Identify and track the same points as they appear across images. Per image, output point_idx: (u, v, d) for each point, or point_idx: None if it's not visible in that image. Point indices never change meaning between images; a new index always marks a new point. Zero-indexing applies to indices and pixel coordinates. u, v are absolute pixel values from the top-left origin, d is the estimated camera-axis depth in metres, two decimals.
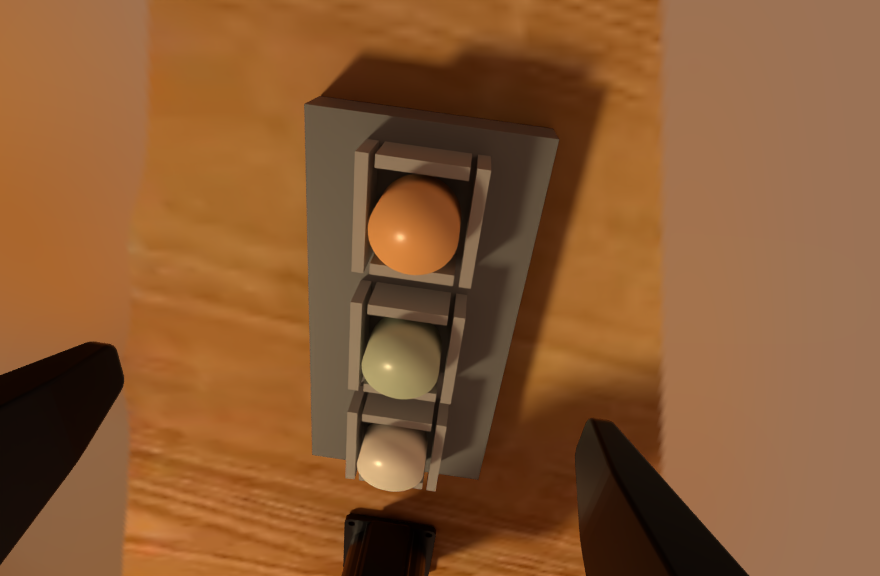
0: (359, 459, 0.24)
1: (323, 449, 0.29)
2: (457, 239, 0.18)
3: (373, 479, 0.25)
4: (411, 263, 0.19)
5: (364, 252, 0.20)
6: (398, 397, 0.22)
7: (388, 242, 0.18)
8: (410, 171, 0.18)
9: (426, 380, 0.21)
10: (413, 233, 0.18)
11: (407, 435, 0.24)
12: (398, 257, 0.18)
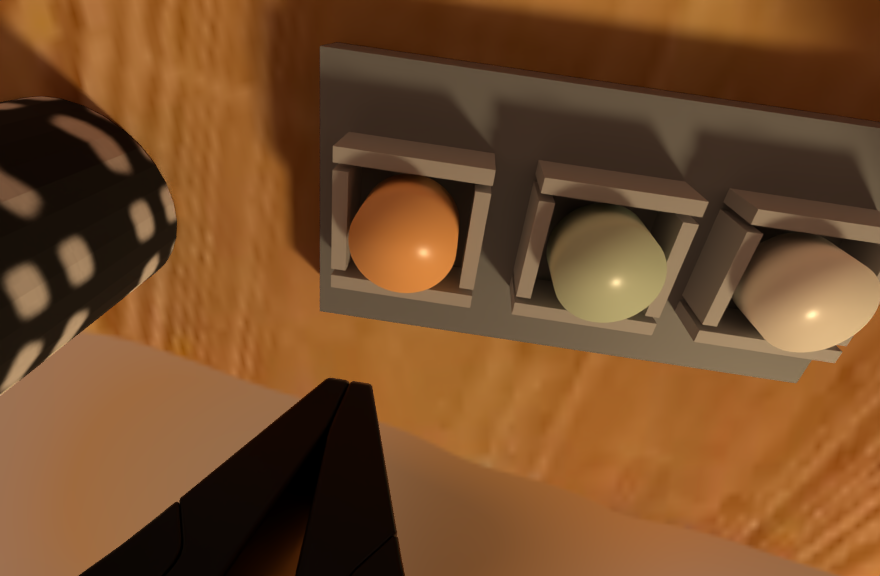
0: (780, 347, 0.16)
1: (789, 368, 0.20)
2: (405, 195, 0.14)
3: (833, 334, 0.15)
4: (440, 250, 0.15)
5: (446, 290, 0.17)
6: (661, 283, 0.15)
7: (414, 273, 0.16)
8: (345, 235, 0.16)
9: (634, 243, 0.14)
10: (400, 245, 0.15)
11: (761, 269, 0.15)
12: (433, 264, 0.15)
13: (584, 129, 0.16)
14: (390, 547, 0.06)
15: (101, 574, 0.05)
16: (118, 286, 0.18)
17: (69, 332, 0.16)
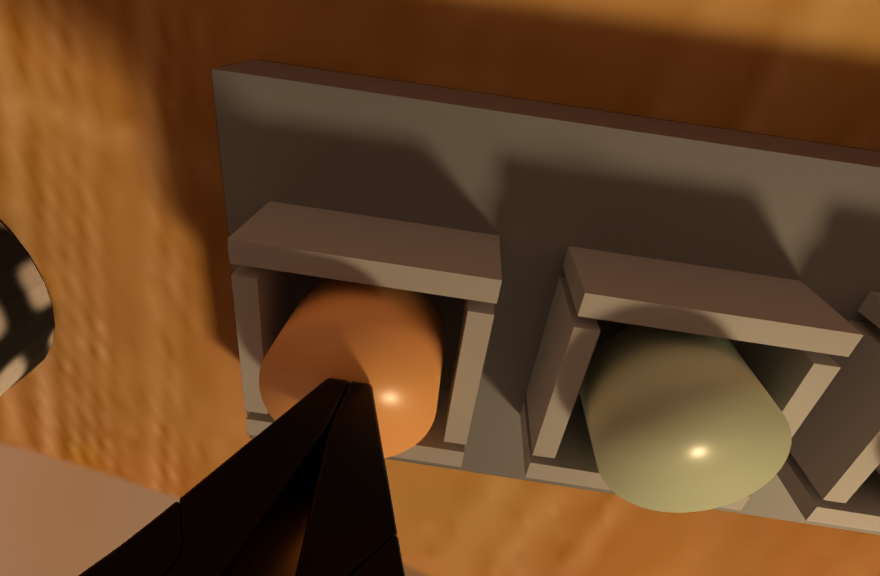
0: None
1: None
2: (346, 325, 0.08)
3: None
4: (410, 406, 0.09)
5: (424, 443, 0.11)
6: (777, 465, 0.09)
7: None
8: None
9: (738, 409, 0.08)
10: None
11: None
12: (399, 424, 0.09)
13: (644, 202, 0.10)
14: (390, 547, 0.06)
15: (101, 574, 0.05)
16: None
17: None
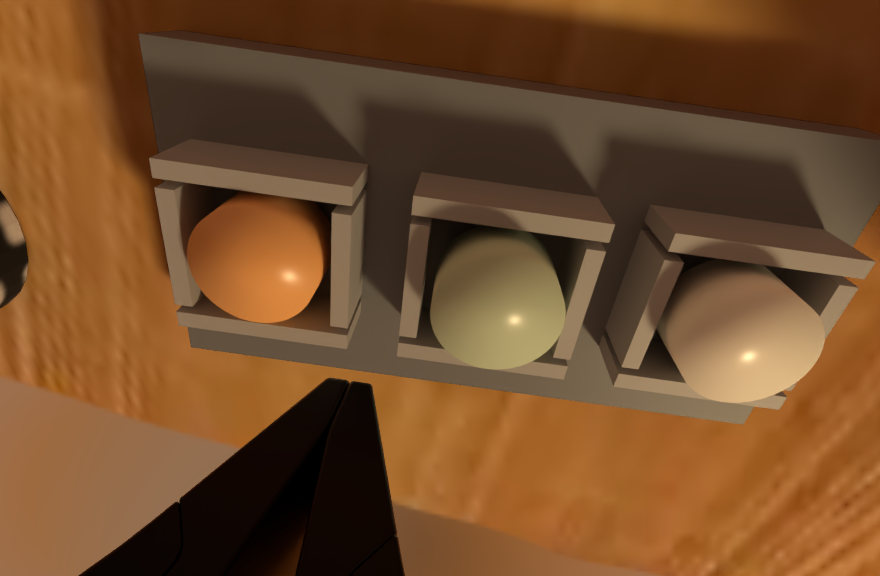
0: (710, 396, 0.13)
1: (734, 408, 0.17)
2: (244, 209, 0.12)
3: (772, 382, 0.13)
4: (296, 274, 0.13)
5: (317, 329, 0.14)
6: (560, 324, 0.12)
7: (271, 300, 0.13)
8: (184, 265, 0.13)
9: (522, 277, 0.12)
10: (249, 268, 0.13)
11: (685, 304, 0.13)
12: (291, 290, 0.13)
13: (471, 135, 0.13)
14: (390, 547, 0.06)
15: (101, 574, 0.05)
16: None
17: None
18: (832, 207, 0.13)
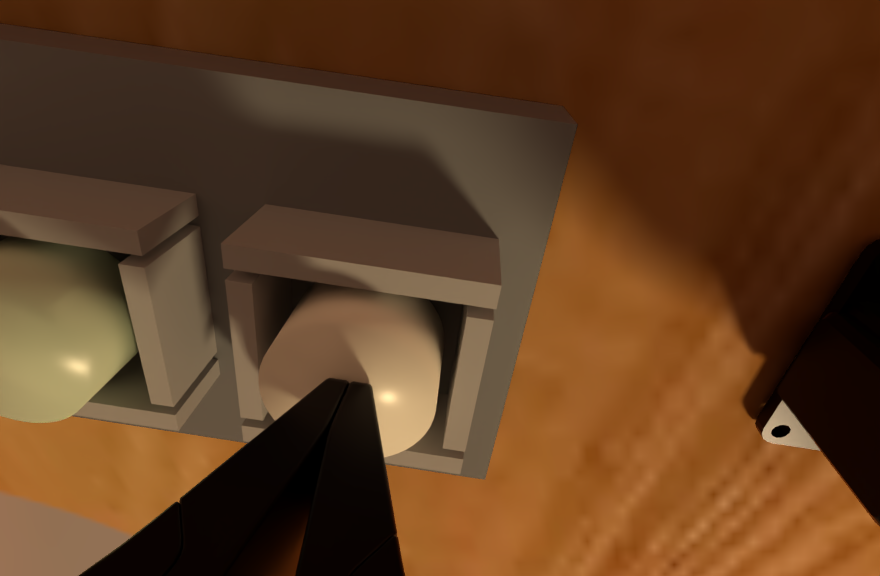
0: None
1: (467, 460, 0.14)
2: None
3: (392, 435, 0.10)
4: None
5: None
6: (80, 366, 0.09)
7: None
8: None
9: None
10: None
11: None
12: None
13: (3, 109, 0.10)
14: (390, 547, 0.06)
15: (101, 574, 0.05)
16: None
17: None
18: (497, 209, 0.10)
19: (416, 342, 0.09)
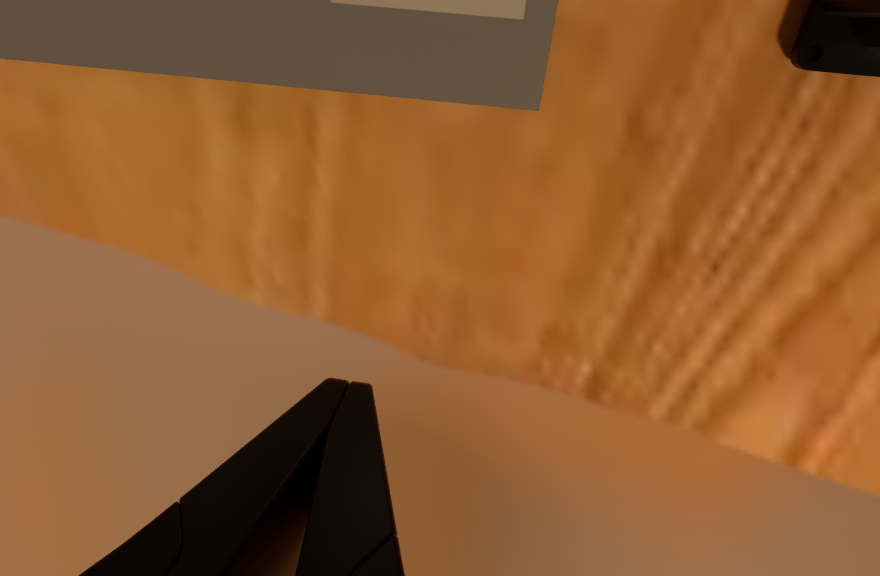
0: None
1: (523, 86, 0.15)
2: None
3: None
4: None
5: None
6: None
7: None
8: None
9: None
10: None
11: None
12: None
13: None
14: (390, 547, 0.06)
15: (101, 574, 0.05)
16: None
17: None
18: None
19: None
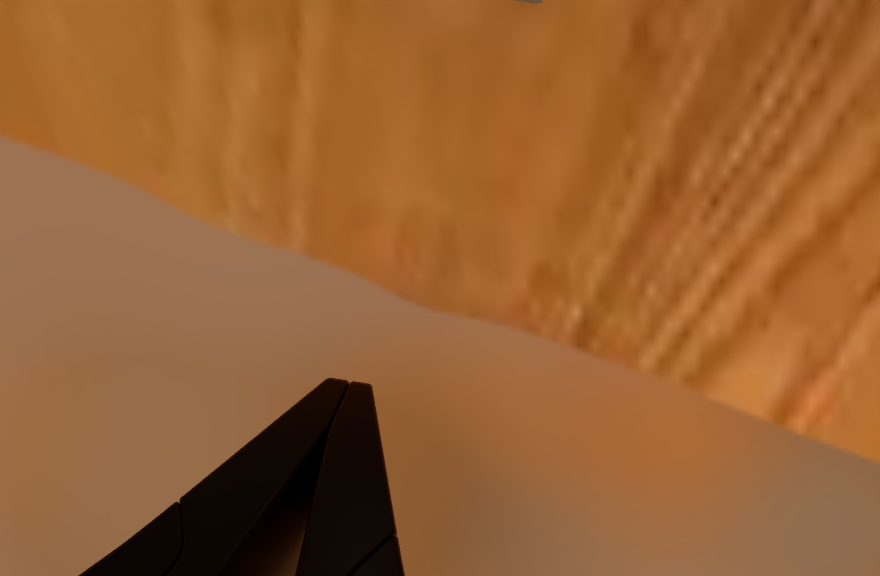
0: None
1: None
2: None
3: None
4: None
5: None
6: None
7: None
8: None
9: None
10: None
11: None
12: None
13: None
14: (390, 547, 0.06)
15: (101, 574, 0.05)
16: None
17: None
18: None
19: None
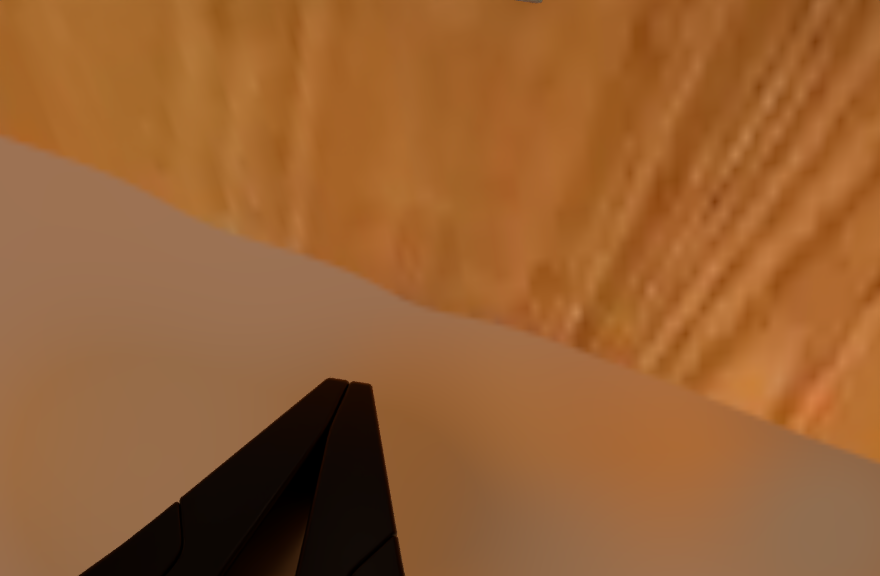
0: None
1: None
2: None
3: None
4: None
5: None
6: None
7: None
8: None
9: None
10: None
11: None
12: None
13: None
14: (390, 547, 0.06)
15: (101, 574, 0.05)
16: None
17: None
18: None
19: None
